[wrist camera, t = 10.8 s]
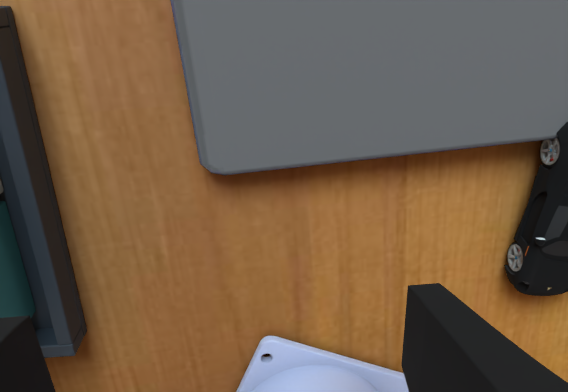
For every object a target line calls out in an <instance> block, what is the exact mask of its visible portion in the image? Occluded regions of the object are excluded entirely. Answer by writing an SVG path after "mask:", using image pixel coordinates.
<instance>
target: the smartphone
mask: <svg viewBox="0 0 568 392" xmlns="http://www.w3.org/2000/svg"><path fill="white" fill-rule="evenodd" d="M171 5H172V11H173V16H174V22H175V27H176V33H177V38H178V44H179V49H180V55H181V61H182V66H183V71H184V77H185V82H186V87H187V94H188V99H189V105H190V110H191V116H192V121H193V127H194V133H195V138H196V144H197V149H198V155H199V160H200V164H201V165H202V166H204V167H205V168H206V169H208V170H209V171H210V172H211V173H214V174H220V175H232V174H241V173H250V172H259V171H268V170H277V169H286V168H295V167H304V166H313V165H322V164H331V163H340V162H350V161H359V160H368V159H377V158H386V157H395V156H404V155H413V154H422V153H431V152H440V151H449V150H459V149H468V148H477V147H486V146H495V145H504V144H513V143H522V142H531V141H540V140H549V139H555V138H557V137H558V136H557V134H556V133H557V132H558V131H559V130H560V128H561V127H562V126H563V125H564V124H565V123H566V122H568V0H171Z"/></svg>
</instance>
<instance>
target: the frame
mask: <svg viewBox="0 0 568 392" xmlns="http://www.w3.org/2000/svg"><path fill="white" fill-rule="evenodd" d="M0 179H1V182H2V186H3V189H4V190H3V192H2V193H1V194H0V201H5V202H6V205H7V209H8V212H9V216H10V219H11V223H12V226H13V230H14V233H15V237H16V241H17V244H18V248H19V251H20V255H21V258H22V262H23V266H24V269H25V273H26V276H27V280H28V283H29V287H30V291H31V294H32V298H33V301H34V305H35V308H36V311H35V313H34V314H33V316H32V317H31V321H32V324H33V327H34V330H35V333H36V336H37V339H38V341H39V344H40V347H41V350H42V353H43V356H44V358H48V357H63V356H75V354H76V352H77V350H78V348H79V346H80V344H81V342H82V340H83V338H84V336H85V334H86V332H87V329H86V325H85V321H84V316H83V312H82V308H81V304H80V299H79V295H78V291H77V286H76V282H75V278H74V274H73V269H72V265H71V261H70V257H69V252H68V248H67V244H66V240H65V235H64V231H63V227H62V223H61V218H60V214H59V210H58V206H57V201H56V197H55V193H54V189H53V184H52V180H51V176H50V172H49V167H48V163H47V159H46V155H45V150H44V146H43V142H42V138H41V133H40V129H39V125H38V120H37V116H36V112H35V108H34V103H33V99H32V95H31V91H30V86H29V82H28V78H27V74H26V69H25V65H24V61H23V57H22V52H21V48H20V44H19V40H18V35H17V31H16V27H15V23H14V18H13V14H12V10H11V7H10V6H0Z"/></svg>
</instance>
